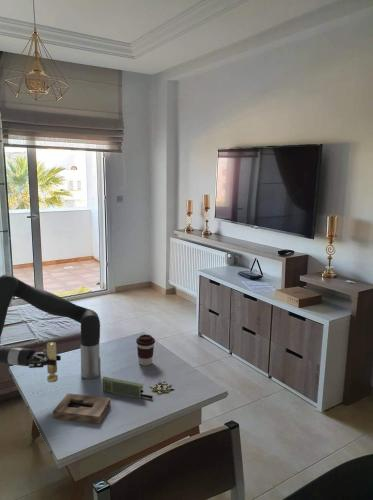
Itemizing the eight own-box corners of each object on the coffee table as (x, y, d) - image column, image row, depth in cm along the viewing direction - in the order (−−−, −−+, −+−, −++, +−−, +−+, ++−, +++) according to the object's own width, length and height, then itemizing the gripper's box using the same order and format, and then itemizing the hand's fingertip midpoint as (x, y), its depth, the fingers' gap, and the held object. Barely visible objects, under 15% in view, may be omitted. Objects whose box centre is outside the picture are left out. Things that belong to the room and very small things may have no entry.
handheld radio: (105, 388, 192) (153, 397, 185) (101, 391, 189) (151, 401, 182) (104, 375, 191) (153, 384, 184) (101, 379, 188) (151, 388, 181)
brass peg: (57, 376, 180) (56, 341, 177) (58, 381, 176) (57, 345, 173) (47, 378, 179) (45, 342, 175) (47, 383, 175) (46, 346, 171)
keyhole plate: (53, 418, 167) (52, 411, 166) (67, 399, 181) (67, 393, 180) (99, 423, 164) (99, 416, 164) (110, 404, 178) (110, 398, 177)
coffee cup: (144, 356, 225) (144, 331, 222) (158, 362, 220) (158, 336, 217) (132, 363, 217) (132, 337, 215) (146, 368, 212) (146, 342, 209)
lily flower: (144, 387, 195) (144, 378, 194) (165, 380, 202) (165, 372, 201) (157, 398, 185) (157, 389, 184) (179, 391, 192) (179, 382, 191)
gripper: (11, 355, 170) (50, 359, 168) (29, 342, 184) (65, 345, 181) (12, 372, 171) (50, 376, 169) (30, 357, 185) (65, 361, 183)
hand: (57, 360), depth 175 cm, fingers closed on brass peg, 4 cm apart
